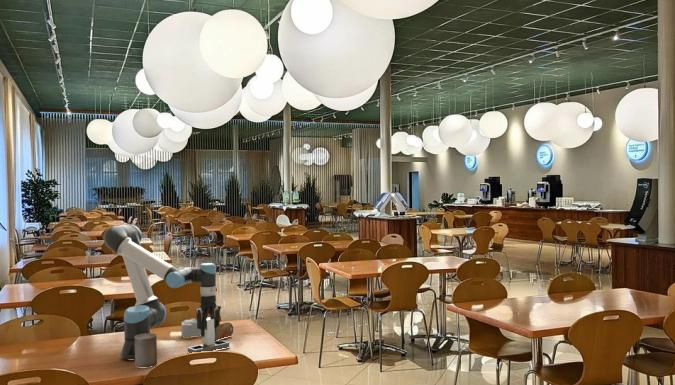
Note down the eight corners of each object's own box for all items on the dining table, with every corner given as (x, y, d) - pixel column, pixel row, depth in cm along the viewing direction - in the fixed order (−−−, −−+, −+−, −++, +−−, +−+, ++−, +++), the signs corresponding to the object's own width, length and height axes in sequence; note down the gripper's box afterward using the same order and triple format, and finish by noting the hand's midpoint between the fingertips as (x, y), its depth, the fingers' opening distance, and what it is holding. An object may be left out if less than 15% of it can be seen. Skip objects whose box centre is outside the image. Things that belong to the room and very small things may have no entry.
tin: (212, 342, 307) (212, 326, 307) (208, 341, 309) (208, 325, 308) (233, 336, 319) (233, 321, 319) (229, 335, 321) (229, 320, 320)
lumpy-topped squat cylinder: (181, 334, 325) (180, 318, 325) (204, 332, 329) (204, 316, 329) (182, 339, 315) (182, 322, 315) (207, 336, 319) (207, 320, 319)
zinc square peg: (207, 348, 288) (207, 320, 288) (203, 347, 291) (202, 318, 291) (214, 347, 291) (214, 318, 291) (210, 345, 294) (209, 317, 294)
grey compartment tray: (195, 356, 282) (195, 349, 282) (187, 353, 287) (187, 346, 287) (229, 348, 295) (229, 341, 295) (221, 345, 300) (221, 339, 300)
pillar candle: (159, 362, 273) (159, 329, 273) (153, 368, 263) (153, 335, 263) (138, 362, 273) (137, 330, 273) (132, 369, 263) (131, 335, 263)
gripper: (196, 298, 282) (197, 346, 282) (227, 293, 294) (227, 339, 294) (188, 296, 287) (189, 343, 288) (218, 291, 299) (219, 337, 300)
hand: (208, 341), depth 291 cm, fingers closed on zinc square peg, 4 cm apart
